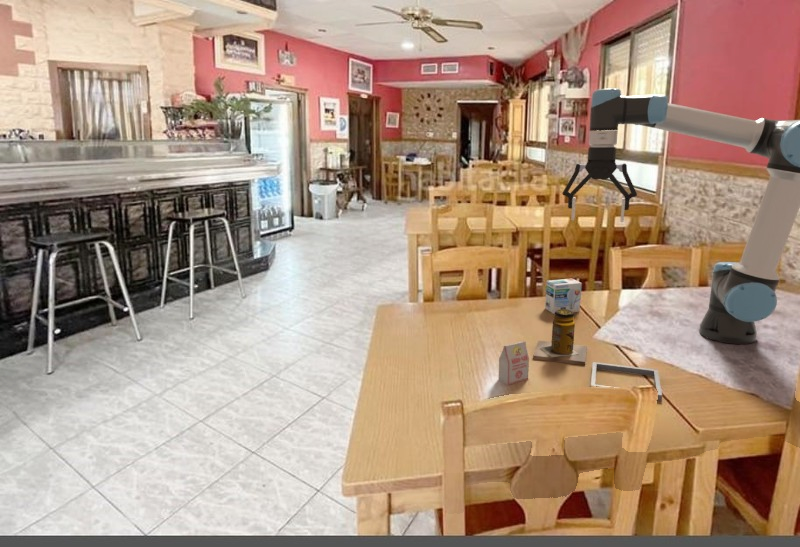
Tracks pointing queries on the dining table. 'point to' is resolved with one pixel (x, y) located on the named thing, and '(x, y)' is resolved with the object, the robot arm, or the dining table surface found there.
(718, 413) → the dining table surface
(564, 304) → the light bulb box
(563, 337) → the yellow cylindrical jar
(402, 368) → the dining table surface
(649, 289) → the dining table surface
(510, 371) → the white milk carton
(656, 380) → the square collar
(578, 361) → the walnut board
